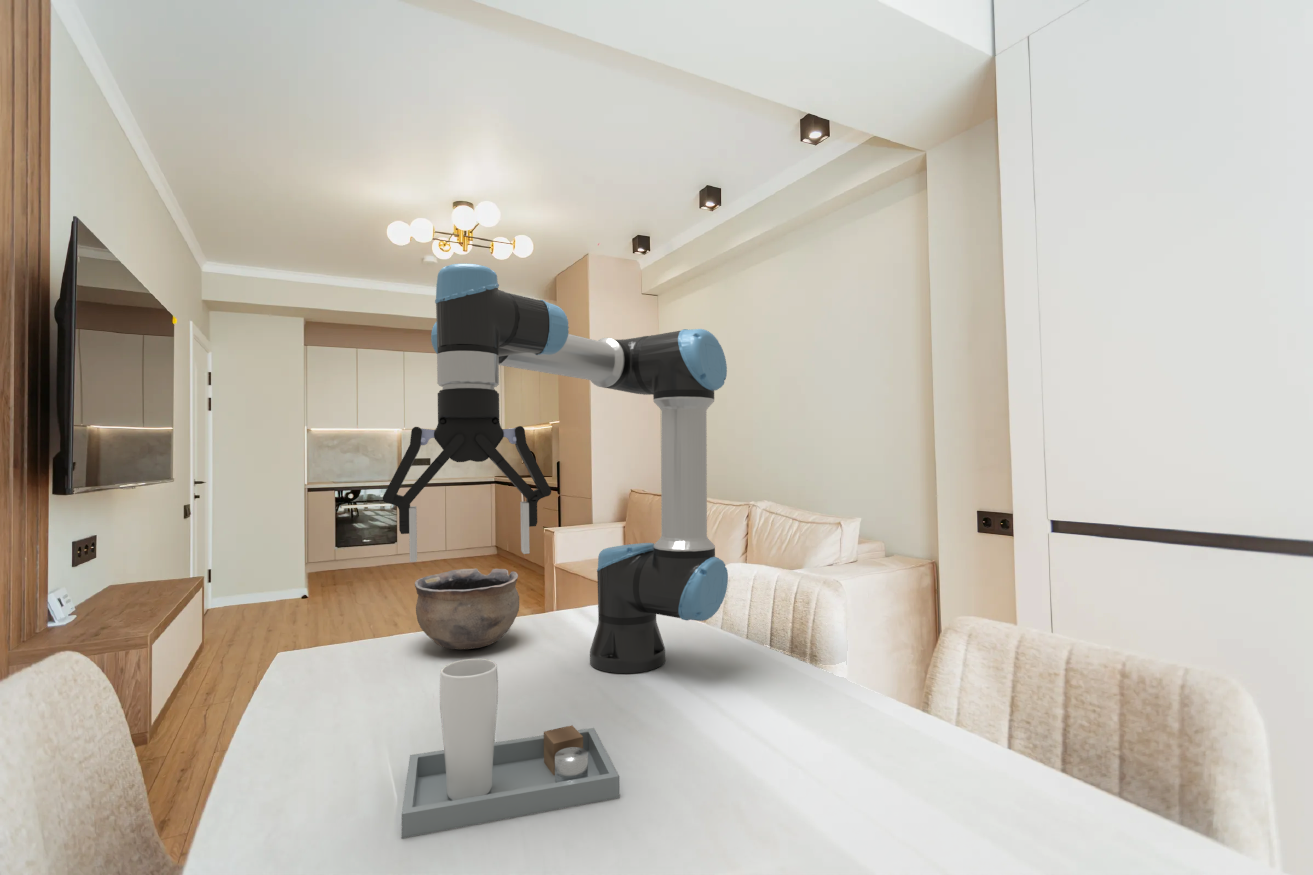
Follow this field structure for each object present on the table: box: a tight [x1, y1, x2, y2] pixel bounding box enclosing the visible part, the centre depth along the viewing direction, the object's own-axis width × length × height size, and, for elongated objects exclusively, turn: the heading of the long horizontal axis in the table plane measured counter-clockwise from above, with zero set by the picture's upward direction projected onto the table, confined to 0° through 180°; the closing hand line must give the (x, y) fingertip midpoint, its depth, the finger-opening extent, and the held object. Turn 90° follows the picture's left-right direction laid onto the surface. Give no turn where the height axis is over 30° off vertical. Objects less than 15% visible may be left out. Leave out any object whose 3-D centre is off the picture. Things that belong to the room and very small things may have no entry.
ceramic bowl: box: [414, 568, 520, 650], centre depth 137 cm, size 22×22×15 cm
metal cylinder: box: [555, 747, 588, 783], centre depth 77 cm, size 4×4×4 cm
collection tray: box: [401, 727, 621, 839], centre depth 77 cm, size 24×14×3 cm, turn 108°
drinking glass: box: [439, 658, 499, 800], centre depth 76 cm, size 7×7×15 cm
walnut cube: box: [543, 724, 583, 775], centre depth 82 cm, size 4×4×4 cm
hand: (470, 556), depth 79 cm, fingers open, 13 cm apart
